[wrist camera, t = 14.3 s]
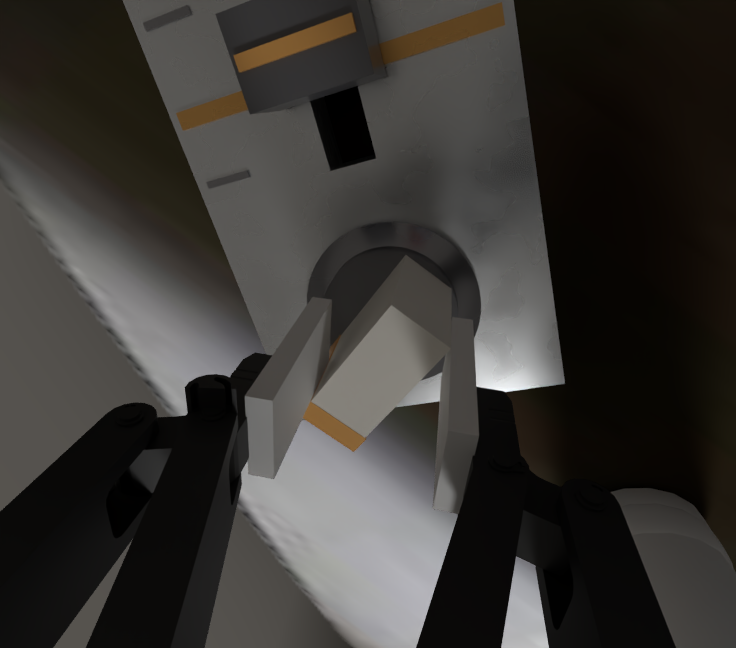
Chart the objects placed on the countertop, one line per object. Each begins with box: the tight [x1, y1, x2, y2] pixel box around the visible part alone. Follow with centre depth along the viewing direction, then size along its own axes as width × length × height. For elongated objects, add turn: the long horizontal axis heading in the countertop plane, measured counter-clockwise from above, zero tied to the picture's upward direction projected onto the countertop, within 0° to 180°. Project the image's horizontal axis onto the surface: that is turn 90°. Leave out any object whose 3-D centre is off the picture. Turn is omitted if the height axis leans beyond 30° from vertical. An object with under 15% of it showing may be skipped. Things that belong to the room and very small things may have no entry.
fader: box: [215, 0, 387, 114], centre depth 18 cm, size 4×3×6 cm
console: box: [123, 0, 565, 420], centre depth 20 cm, size 14×28×3 cm, turn 16°
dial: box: [303, 246, 458, 452], centre depth 19 cm, size 6×6×6 cm
